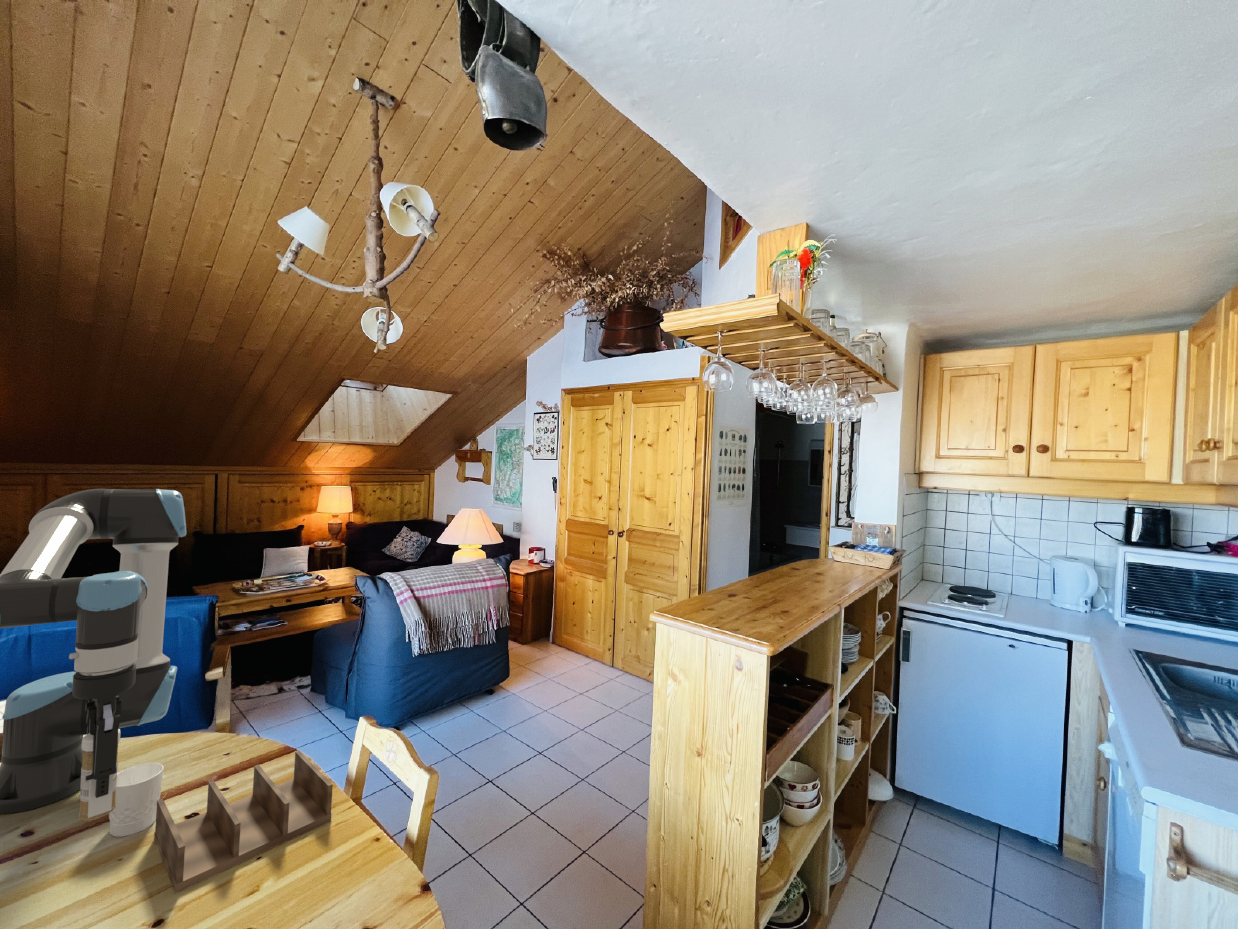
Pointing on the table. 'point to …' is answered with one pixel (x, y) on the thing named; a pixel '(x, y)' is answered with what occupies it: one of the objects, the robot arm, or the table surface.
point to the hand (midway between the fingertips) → (97, 805)
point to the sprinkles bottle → (85, 771)
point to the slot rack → (242, 824)
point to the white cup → (136, 799)
